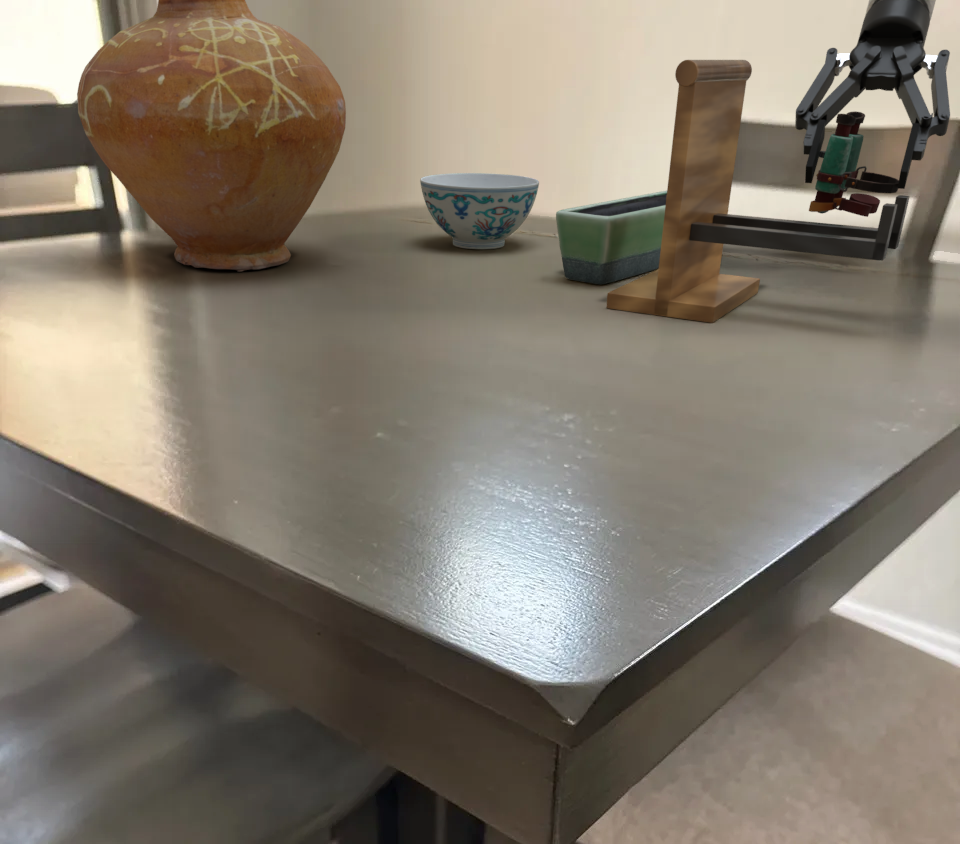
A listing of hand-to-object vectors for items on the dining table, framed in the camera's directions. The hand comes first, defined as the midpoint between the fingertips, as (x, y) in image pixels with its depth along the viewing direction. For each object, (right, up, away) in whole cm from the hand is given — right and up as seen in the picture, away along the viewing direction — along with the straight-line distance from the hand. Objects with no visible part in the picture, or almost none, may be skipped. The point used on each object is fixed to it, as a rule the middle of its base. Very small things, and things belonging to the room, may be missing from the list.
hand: (854, 177), depth 112 cm
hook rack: (-16, -20, -14) cm, 29 cm away
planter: (-24, -9, +4) cm, 26 cm away
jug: (-72, -9, +2) cm, 73 cm away
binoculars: (+1, -2, +5) cm, 5 cm away
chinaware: (-43, -2, +15) cm, 46 cm away
